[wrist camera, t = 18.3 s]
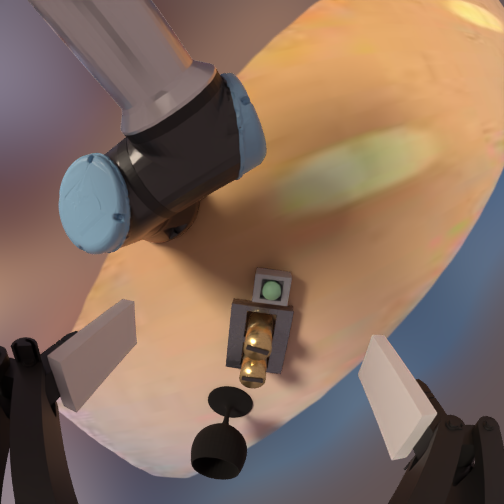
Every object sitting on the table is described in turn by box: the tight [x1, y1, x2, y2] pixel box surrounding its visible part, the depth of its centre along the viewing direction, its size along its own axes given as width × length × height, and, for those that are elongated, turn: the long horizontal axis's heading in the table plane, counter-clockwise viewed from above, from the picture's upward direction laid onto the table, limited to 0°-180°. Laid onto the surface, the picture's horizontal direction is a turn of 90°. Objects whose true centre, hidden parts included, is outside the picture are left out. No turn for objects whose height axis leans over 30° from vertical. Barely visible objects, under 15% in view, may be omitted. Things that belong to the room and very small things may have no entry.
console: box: [252, 267, 292, 306], centre depth 47 cm, size 6×5×4 cm
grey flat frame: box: [226, 298, 294, 374], centre depth 50 cm, size 11×14×2 cm
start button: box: [262, 280, 281, 300], centre depth 45 cm, size 3×3×2 cm
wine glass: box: [191, 386, 252, 479], centre depth 46 cm, size 10×10×20 cm
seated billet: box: [244, 312, 272, 360], centre depth 46 cm, size 4×4×10 cm
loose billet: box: [239, 353, 267, 388], centre depth 47 cm, size 4×4×10 cm
